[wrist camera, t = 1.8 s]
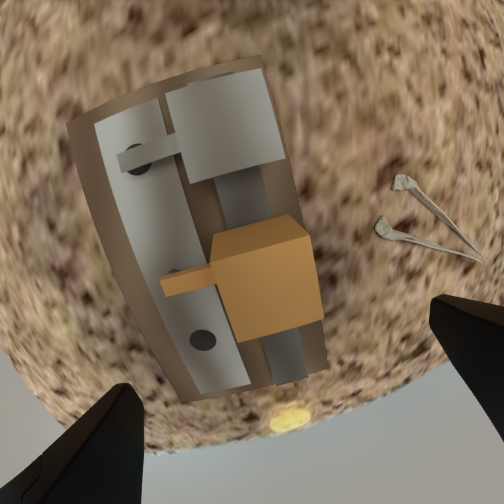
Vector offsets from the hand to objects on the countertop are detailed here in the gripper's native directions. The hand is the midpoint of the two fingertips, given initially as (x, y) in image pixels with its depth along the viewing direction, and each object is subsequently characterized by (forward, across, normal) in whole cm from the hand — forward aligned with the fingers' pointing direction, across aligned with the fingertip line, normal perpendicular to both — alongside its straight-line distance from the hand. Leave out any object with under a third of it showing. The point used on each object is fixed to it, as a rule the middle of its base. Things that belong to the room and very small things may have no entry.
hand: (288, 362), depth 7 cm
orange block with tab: (+10, +1, 0) cm, 10 cm away
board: (+12, +3, 0) cm, 12 cm away
